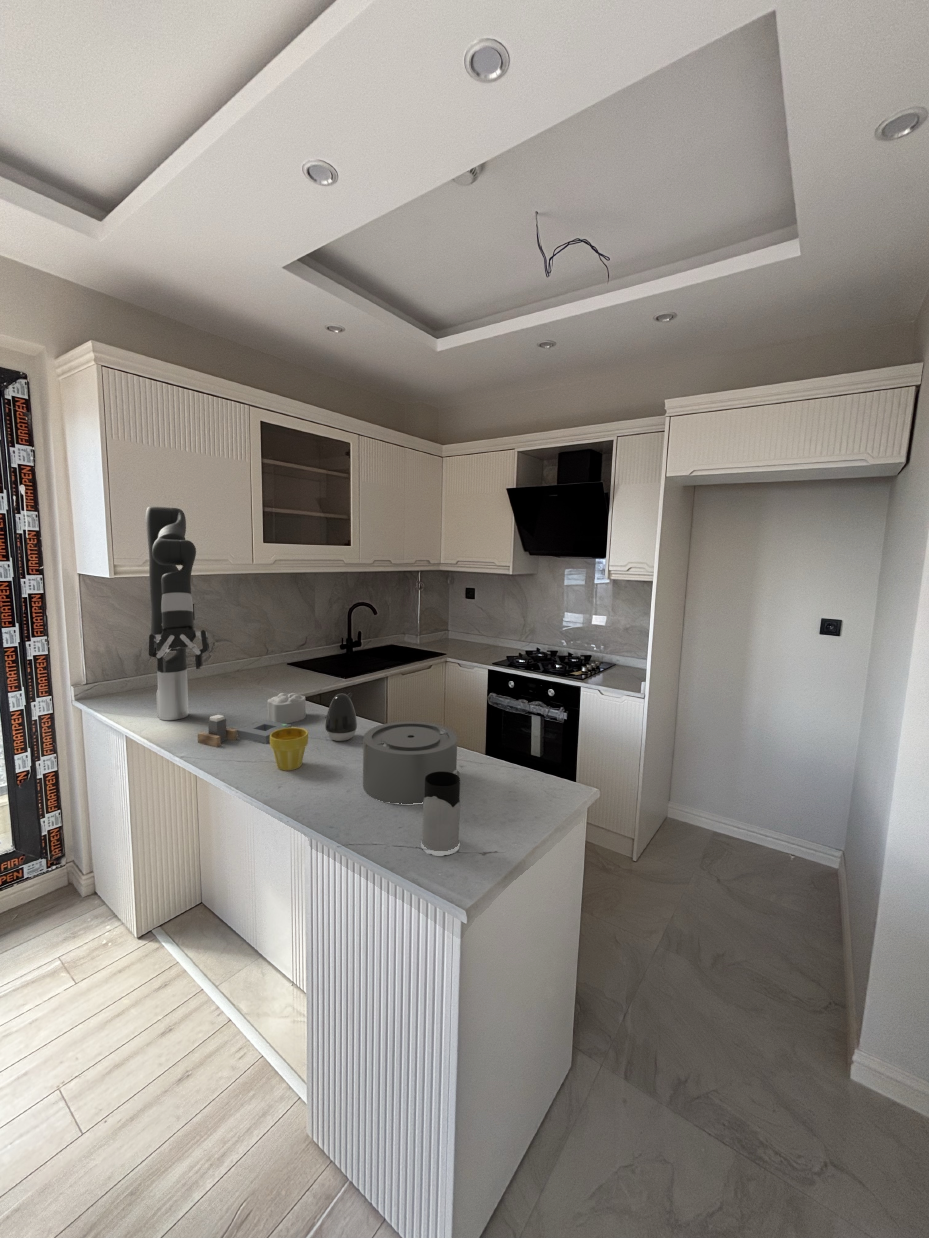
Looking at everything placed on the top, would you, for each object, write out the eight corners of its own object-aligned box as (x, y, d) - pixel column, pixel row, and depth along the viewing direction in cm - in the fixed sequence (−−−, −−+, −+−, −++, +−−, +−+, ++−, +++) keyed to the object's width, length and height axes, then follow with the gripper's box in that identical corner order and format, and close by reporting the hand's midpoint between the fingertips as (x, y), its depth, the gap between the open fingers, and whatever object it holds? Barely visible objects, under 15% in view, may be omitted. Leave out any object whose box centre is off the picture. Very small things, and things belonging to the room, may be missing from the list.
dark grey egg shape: (363, 736, 176) (364, 692, 174) (344, 746, 166) (344, 699, 164) (339, 730, 180) (339, 687, 178) (318, 740, 171) (318, 695, 169)
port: (237, 737, 171) (236, 729, 170) (264, 726, 182) (263, 718, 181) (265, 743, 166) (265, 735, 166) (291, 732, 177) (291, 724, 177)
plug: (208, 741, 166) (208, 717, 165) (218, 738, 169) (217, 714, 168) (217, 743, 165) (216, 719, 164) (226, 739, 168) (225, 715, 167)
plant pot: (292, 776, 144) (292, 742, 142) (262, 769, 147) (261, 736, 146) (315, 762, 153) (315, 730, 152) (286, 756, 157) (286, 725, 155)
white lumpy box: (264, 718, 190) (264, 695, 189) (297, 711, 200) (296, 689, 198) (278, 725, 183) (278, 701, 182) (311, 717, 193) (311, 694, 191)
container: (472, 793, 138) (474, 745, 136) (382, 814, 125) (383, 761, 123) (431, 759, 159) (432, 716, 157) (350, 773, 147) (351, 728, 145)
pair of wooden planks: (197, 742, 165) (197, 733, 165) (218, 734, 172) (218, 725, 172) (216, 746, 162) (216, 737, 162) (237, 738, 169) (236, 729, 169)
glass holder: (413, 850, 110) (414, 783, 108) (439, 819, 124) (441, 758, 122) (451, 860, 107) (453, 791, 105) (474, 827, 121) (477, 765, 119)
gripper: (209, 611, 148) (212, 668, 146) (152, 615, 144) (155, 674, 142) (203, 607, 141) (206, 667, 139) (143, 611, 137) (146, 673, 135)
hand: (180, 670), depth 141 cm, fingers open, 8 cm apart
